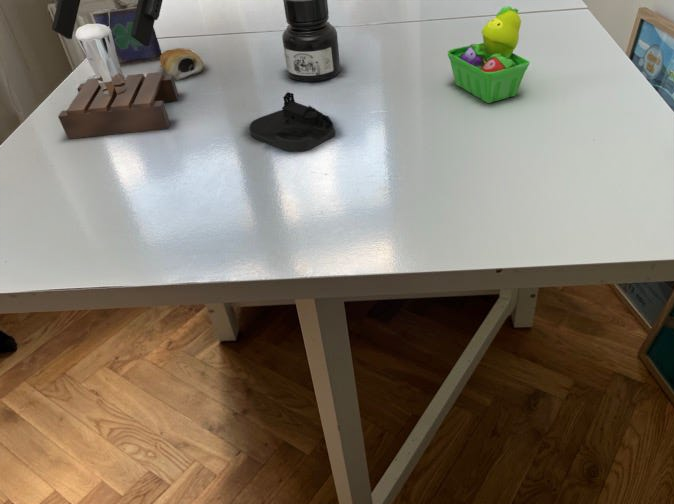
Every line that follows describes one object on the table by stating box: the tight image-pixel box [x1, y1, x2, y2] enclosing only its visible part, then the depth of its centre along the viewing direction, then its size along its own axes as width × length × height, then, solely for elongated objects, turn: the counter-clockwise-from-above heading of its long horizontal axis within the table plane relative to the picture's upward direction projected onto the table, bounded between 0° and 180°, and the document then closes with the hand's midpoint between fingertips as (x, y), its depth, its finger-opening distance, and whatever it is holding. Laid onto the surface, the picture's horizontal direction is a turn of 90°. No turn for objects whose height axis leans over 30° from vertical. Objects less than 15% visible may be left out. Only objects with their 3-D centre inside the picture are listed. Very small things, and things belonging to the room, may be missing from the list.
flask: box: [92, 0, 163, 66], centre depth 99 cm, size 9×3×11 cm, turn 109°
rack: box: [57, 71, 180, 140], centre depth 82 cm, size 14×12×4 cm
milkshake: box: [75, 12, 126, 95], centre depth 78 cm, size 5×5×10 cm
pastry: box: [159, 47, 204, 81], centre depth 96 cm, size 9×7×4 cm
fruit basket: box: [446, 5, 531, 104], centre depth 81 cm, size 11×9×11 cm
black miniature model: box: [248, 91, 336, 153], centre depth 76 cm, size 12×10×5 cm
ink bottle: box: [281, 0, 341, 82], centre depth 89 cm, size 10×9×12 cm
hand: (99, 37), depth 77 cm, fingers open, 13 cm apart
